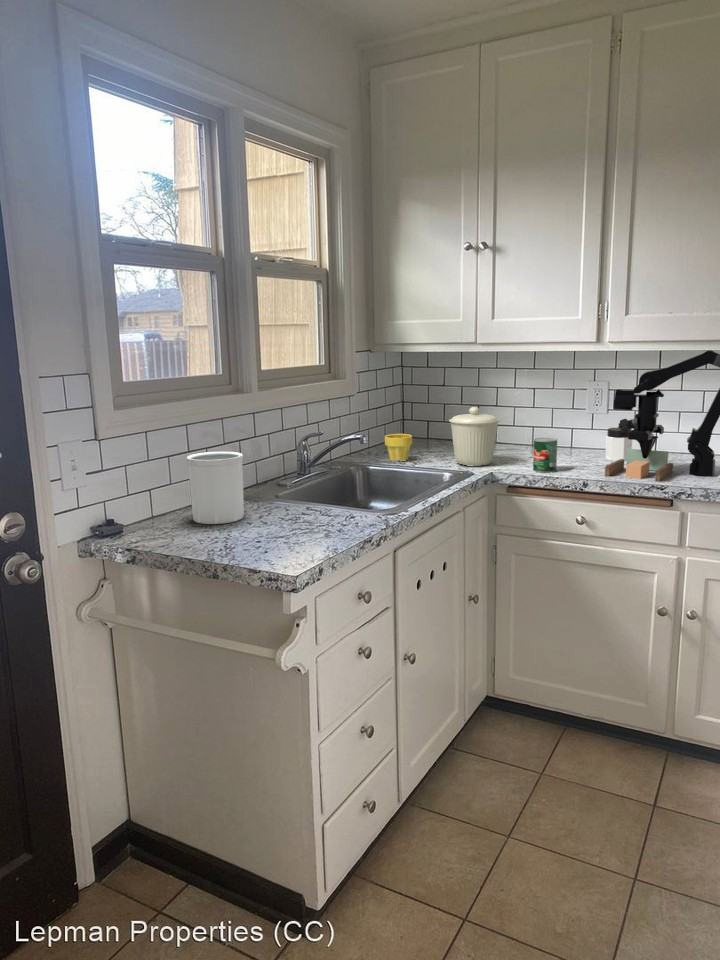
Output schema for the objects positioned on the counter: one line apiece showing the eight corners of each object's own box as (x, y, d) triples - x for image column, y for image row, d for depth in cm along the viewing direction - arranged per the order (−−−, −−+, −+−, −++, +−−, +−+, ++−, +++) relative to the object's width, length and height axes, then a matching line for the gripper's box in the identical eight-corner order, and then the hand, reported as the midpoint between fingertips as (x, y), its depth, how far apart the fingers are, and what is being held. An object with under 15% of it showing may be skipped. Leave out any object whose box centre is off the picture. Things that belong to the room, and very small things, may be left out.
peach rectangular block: (648, 474, 235) (649, 461, 234) (640, 479, 228) (641, 466, 227) (634, 473, 238) (635, 460, 237) (625, 477, 231) (626, 464, 230)
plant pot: (397, 464, 270) (397, 438, 268) (379, 461, 278) (379, 435, 276) (418, 460, 276) (417, 435, 274) (399, 457, 284) (399, 432, 282)
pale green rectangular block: (667, 471, 237) (668, 451, 236) (666, 471, 236) (667, 451, 235) (627, 467, 245) (628, 448, 243) (626, 468, 244) (627, 448, 243)
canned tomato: (530, 472, 249) (531, 440, 247) (535, 468, 256) (536, 437, 254) (554, 473, 246) (554, 441, 244) (558, 469, 253) (559, 438, 250)
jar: (619, 464, 257) (621, 431, 255) (600, 461, 264) (602, 429, 262) (635, 461, 262) (637, 428, 260) (616, 458, 269) (618, 426, 266)
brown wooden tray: (674, 477, 235) (675, 463, 234) (661, 485, 223) (661, 471, 222) (618, 471, 246) (618, 458, 245) (602, 479, 234) (603, 465, 233)
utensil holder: (210, 510, 208) (206, 449, 205) (256, 513, 203) (252, 451, 200) (180, 523, 195) (175, 458, 191) (228, 527, 190) (223, 461, 186)
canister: (455, 459, 278) (454, 404, 273) (502, 460, 272) (503, 404, 267) (444, 467, 261) (444, 409, 257) (494, 469, 255) (495, 409, 251)
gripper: (631, 406, 246) (629, 452, 250) (612, 412, 232) (610, 460, 235) (665, 408, 240) (662, 454, 243) (648, 414, 225) (646, 463, 228)
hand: (644, 458), depth 238 cm, fingers closed
